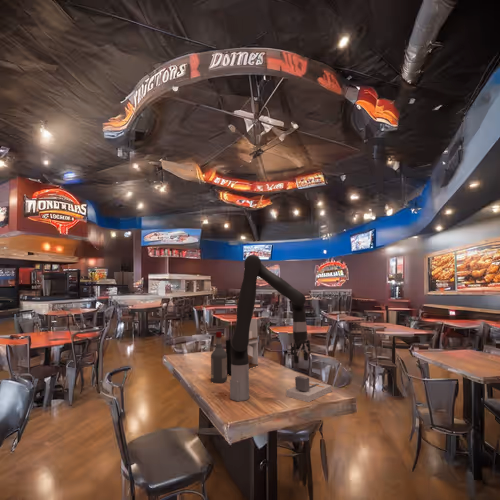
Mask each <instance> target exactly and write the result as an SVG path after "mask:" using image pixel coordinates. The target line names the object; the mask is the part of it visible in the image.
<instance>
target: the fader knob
mask: <svg viewBox="0 0 500 500" xmlns="http://www.w3.org/2000/svg"><path fill="white" fill-rule="evenodd" d="M294 379H295V380H294V382H295V383H294V384H295V387H296V389H297V390H301V391H305V392H306V391H308V390H310V387H309V381H310V377H308V376H302V375H297V376H295V377H294Z"/></svg>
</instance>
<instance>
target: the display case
mask: <svg viewBox="0 0 500 500" xmlns="http://www.w3.org/2000/svg"><path fill="white" fill-rule="evenodd" d="M236 322H237V318H236ZM236 322H235V323H236ZM258 341H259V338H258V318H253V317H252V319H251V323H250V329H249V344H248V359H249V369H250V368H253V367H256V366H258V367H259V348H258V347H259V346H258V344H259V342H258Z"/></svg>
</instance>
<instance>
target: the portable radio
mask: <svg viewBox="0 0 500 500" xmlns="http://www.w3.org/2000/svg"><path fill="white" fill-rule="evenodd" d="M225 351H226V353H227V374H229V375H228V376H231V336H228V339H226V340H225Z"/></svg>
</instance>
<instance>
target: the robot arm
mask: <svg viewBox="0 0 500 500" xmlns="http://www.w3.org/2000/svg"><path fill="white" fill-rule="evenodd" d="M243 266H244V268H243V269H244V270H243V280H242V283H241V285H240V290H239V294H238V299H237V304H236V319H237V322H235V323H236V325H235V329H234V332H233V334H232V335H231V336H230V339H231V375H230V376H231V377H230V379H229V399H230V400H232V401H235V402H243V401H247V400H249V399H250V376H249V375H250V372H249V371H250V370H249V359H248V344H249V329H250V323H251V319H252V318H253V315H254V308H255V304H256V297H257V281H258V277H259V278H260V279H261V280H263V281H265V282H266V283H267V284H268V285H269V286H271V287H272V288H273V289H274V290H275V291H277V292H278V293H280V295H282V296H283V297H285V298H287V299H288V300H289V301H291V308H292V339H293V340H294V342H291V343H290V354H291V356H293V360H294V361H293V362H294V364H299V362H300V357H299V354H300V353H301V351H303V361H308V360H309V352H311V343H310V342H311V341H310V340H309V339H308V326H307V316H306V314H307V313H306V311H305V303H306V295H304V294H303V293H302V292H301V291H299V290H298V289H296V288H295V287H293V286H292V285H291V284H290V283H289V282H287V281H286V280H285V279H284V278H282V277H280V276H279V275H277V274H275V273H274V272H272V271H271V270H269V269H268V268H267V267H266V266H265V265H264V264H263V263H262V261H261V259H260V257H259V256H258V255H256V254H250V255H248V256H247V257H246V258H245V260H244V264H243Z"/></svg>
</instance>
